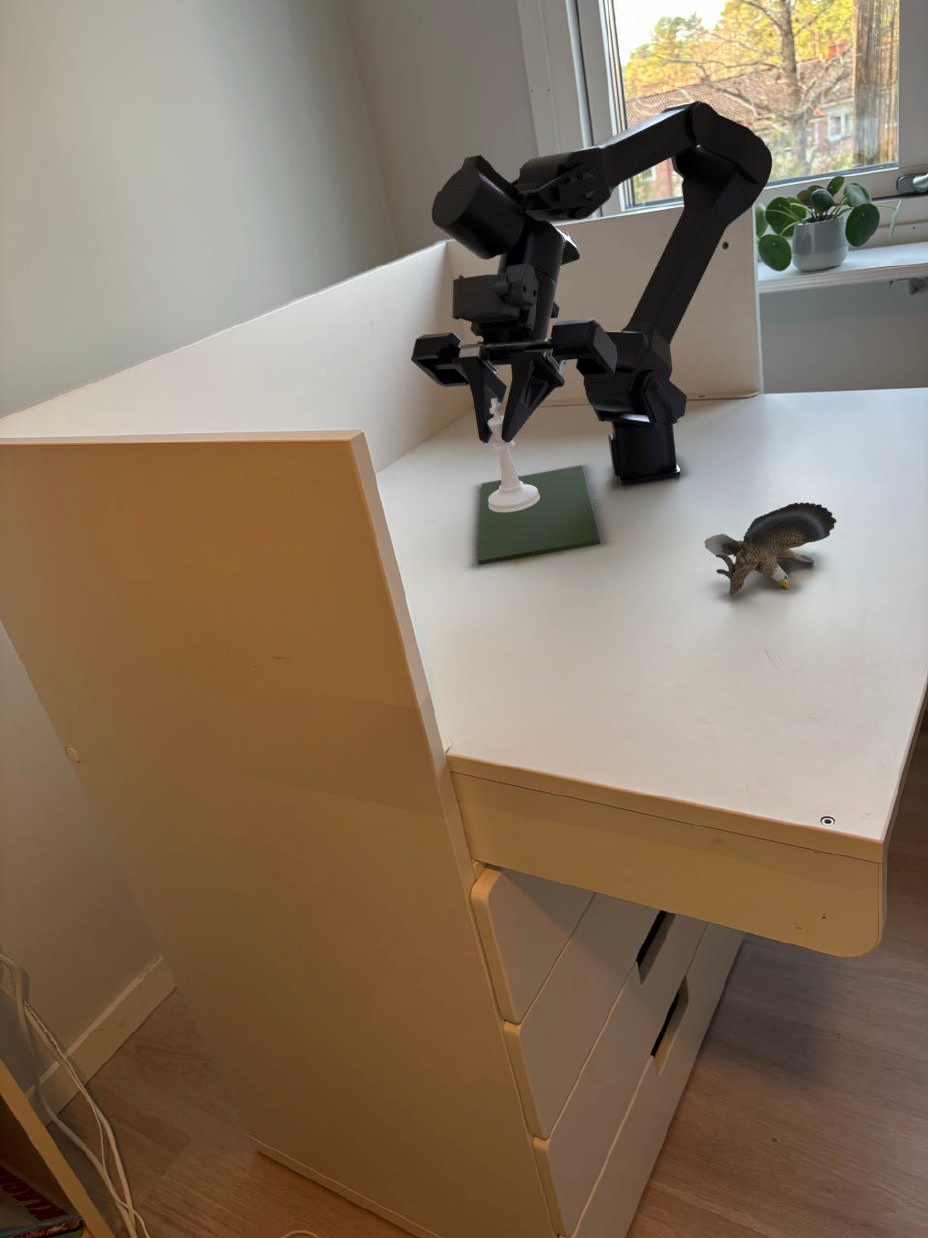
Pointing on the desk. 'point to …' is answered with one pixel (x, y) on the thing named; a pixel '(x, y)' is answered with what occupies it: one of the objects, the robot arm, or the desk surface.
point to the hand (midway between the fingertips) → (494, 441)
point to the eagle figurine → (771, 542)
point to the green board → (539, 518)
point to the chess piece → (508, 472)
